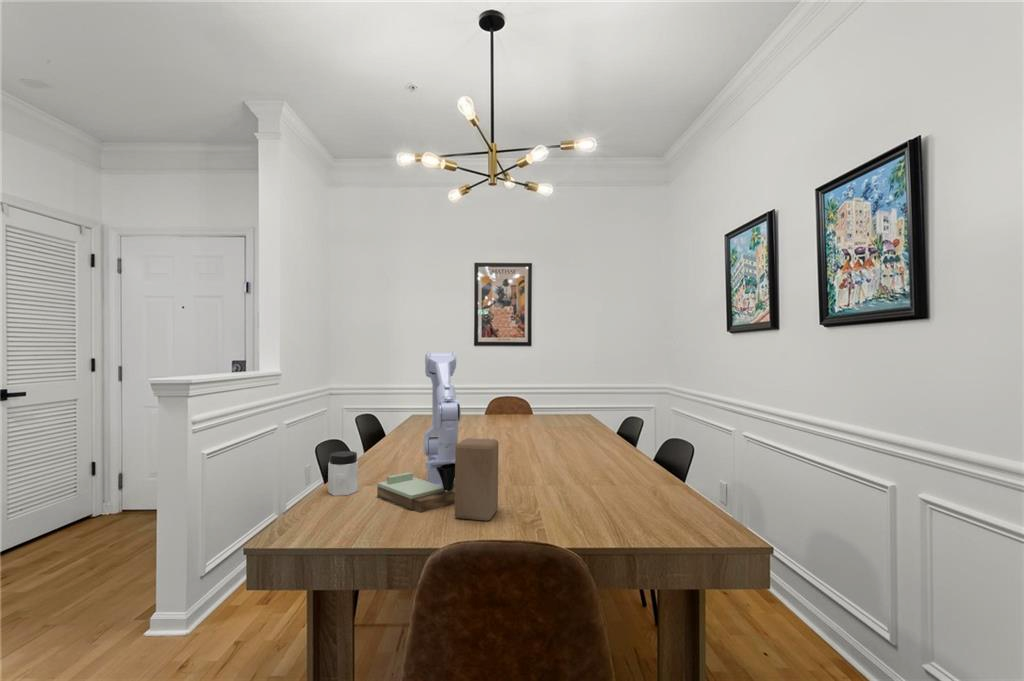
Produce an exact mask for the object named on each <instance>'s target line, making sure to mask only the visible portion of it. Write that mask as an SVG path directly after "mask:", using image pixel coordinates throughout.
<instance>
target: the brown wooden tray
mask: <svg viewBox="0 0 1024 681" xmlns="http://www.w3.org/2000/svg"><path fill="white" fill-rule="evenodd" d="M376 489H377V491H376V492H377V493H376V494H377V495H376V496H377V498H379V499H381V500H384V501H386V502H389V503H390V504H391V503H392V505H396V506H398V507H401V508H404V509H406V510H409V511H416V512H418V513H423V512H427V511H430V510H431V511H432V510H435V509H438V508H442V507H446V506H447V507H448V506H449V505H453V504H454V505H455V492H451V491H443V492H439V493H435V494H431V495H427V496H423V497H418V498H414V499H410V498H407V497H404V496H402V495H399V494H396V493H394V492H391V491H388V490H386V489H383V488H380V487H378V486H377V488H376Z"/></svg>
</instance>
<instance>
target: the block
mask: <svg viewBox="0 0 1024 681" xmlns="http://www.w3.org/2000/svg"><path fill="white" fill-rule="evenodd" d="M498 508H499V441H498V440H497V439H495V438H494V439H493V438H492V439H490V438H489V439H488V438H474V437H472V438H471V437H470V438H469V437H468V438H464V439H462V440H461V441H458V444H456V447H455V503H454V516H455V517H454V518H456V519H461V520H471V521H472V520H476V521H485V522H486V521H491V519H492V518H493V516H494V515H495V514H496V513H497V511H498Z"/></svg>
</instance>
